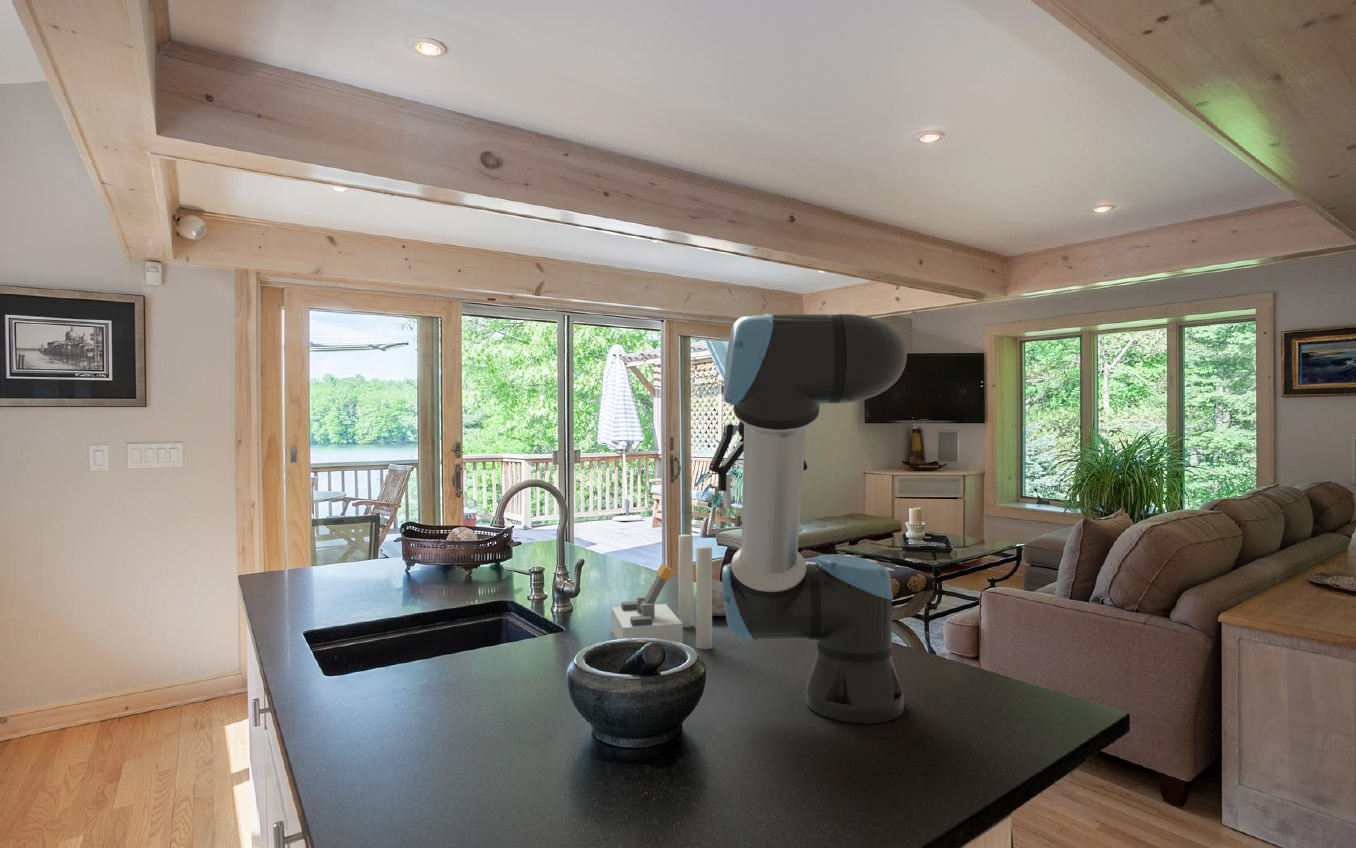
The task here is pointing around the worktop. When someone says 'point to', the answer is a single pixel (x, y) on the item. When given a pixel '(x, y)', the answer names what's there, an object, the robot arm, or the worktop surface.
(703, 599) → the post near
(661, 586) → the breaker lever
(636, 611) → the panel
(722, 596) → the seashell
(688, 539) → the post far
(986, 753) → the worktop surface
